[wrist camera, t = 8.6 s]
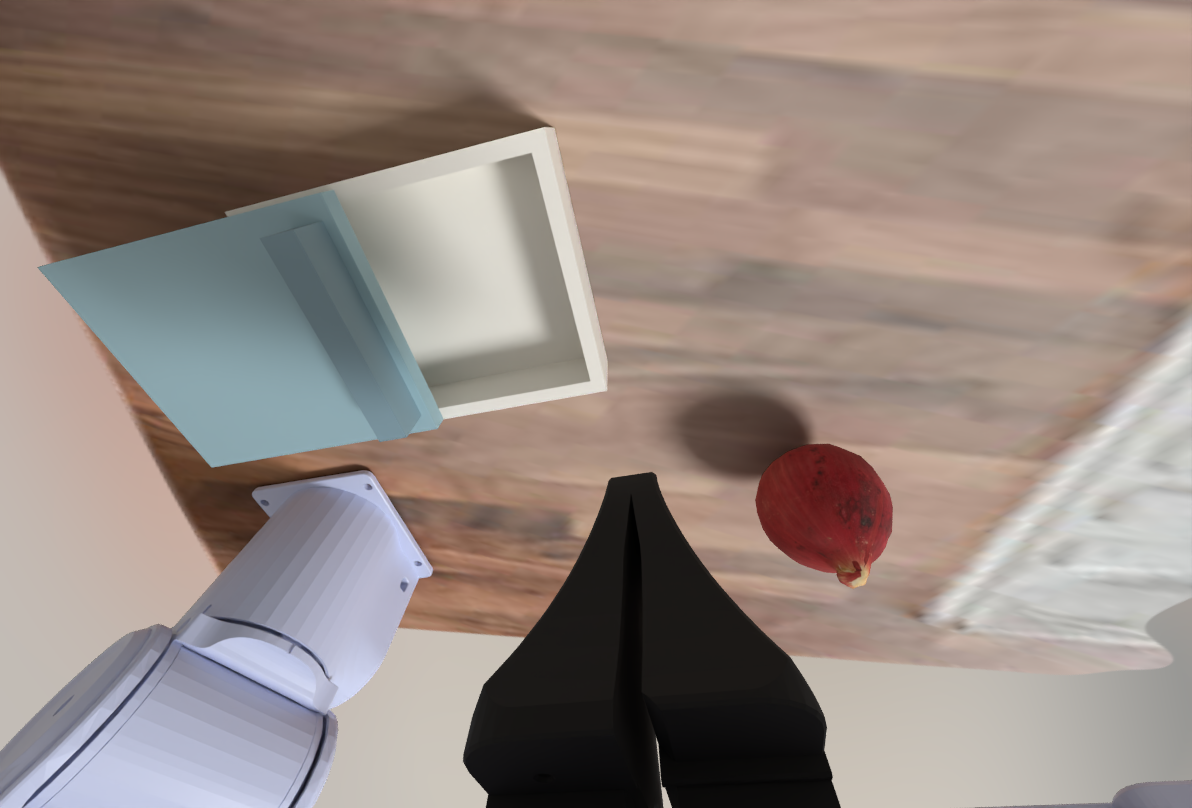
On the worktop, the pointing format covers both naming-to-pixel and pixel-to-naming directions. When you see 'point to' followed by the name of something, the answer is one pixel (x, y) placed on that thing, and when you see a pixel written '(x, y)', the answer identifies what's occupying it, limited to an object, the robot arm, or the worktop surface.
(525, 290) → the box
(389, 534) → the robot arm
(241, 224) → the lid
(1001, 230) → the worktop surface
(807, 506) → the onion
